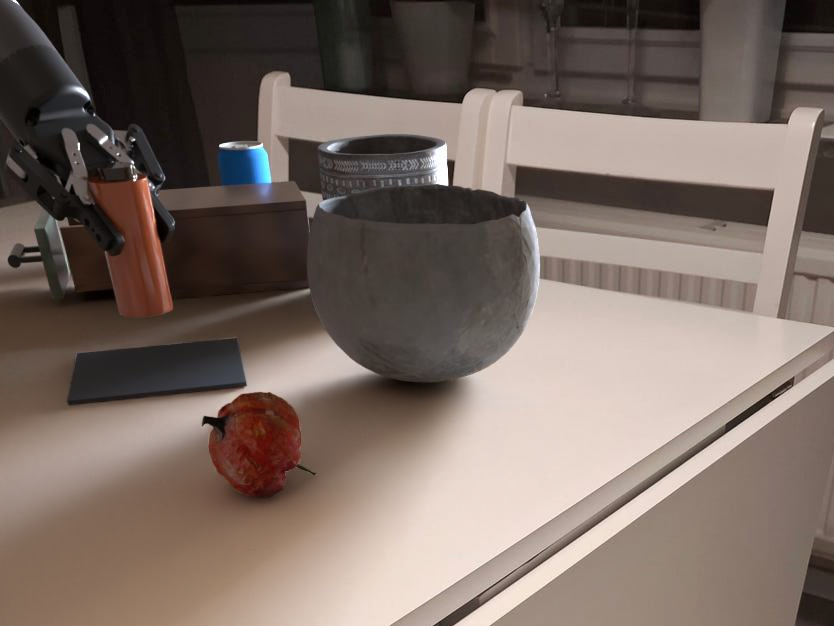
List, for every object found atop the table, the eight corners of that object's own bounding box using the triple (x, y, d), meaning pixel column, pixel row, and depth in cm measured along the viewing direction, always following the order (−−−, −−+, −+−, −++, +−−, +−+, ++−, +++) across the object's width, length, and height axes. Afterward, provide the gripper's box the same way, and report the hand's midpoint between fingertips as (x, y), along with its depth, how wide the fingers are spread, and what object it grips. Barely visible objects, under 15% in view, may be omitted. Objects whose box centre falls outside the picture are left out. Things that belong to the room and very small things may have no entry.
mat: (68, 405, 91) (66, 400, 90) (77, 356, 101) (76, 352, 101) (247, 386, 93) (246, 381, 93) (237, 341, 104) (237, 337, 104)
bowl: (495, 425, 85) (493, 231, 75) (281, 399, 90) (255, 216, 81) (564, 350, 100) (569, 181, 90) (377, 332, 105) (364, 171, 96)
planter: (354, 311, 112) (339, 159, 103) (317, 281, 122) (301, 140, 113) (470, 294, 116) (467, 147, 107) (425, 266, 126) (418, 130, 117)
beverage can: (275, 237, 141) (261, 139, 134) (282, 247, 136) (269, 146, 129) (228, 241, 140) (212, 142, 132) (235, 251, 135) (218, 150, 127)
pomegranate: (282, 488, 81) (167, 434, 75) (330, 412, 78) (215, 349, 72) (304, 536, 76) (184, 483, 70) (356, 457, 73) (236, 394, 67)
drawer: (15, 302, 114) (-6, 231, 109) (25, 277, 123) (6, 210, 118) (191, 287, 118) (178, 218, 113) (189, 263, 126) (177, 198, 122)
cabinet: (172, 299, 117) (155, 211, 112) (171, 272, 127) (155, 190, 121) (316, 286, 120) (306, 200, 115) (304, 261, 130) (294, 180, 124)
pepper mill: (118, 320, 92) (83, 172, 84) (119, 305, 96) (86, 162, 88) (174, 314, 93) (144, 168, 85) (173, 300, 96) (144, 158, 89)
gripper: (-45, 49, 80) (89, 230, 82) (101, 34, 89) (219, 198, 91) (-59, 121, 86) (67, 289, 88) (80, 101, 95) (192, 253, 97)
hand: (144, 242), depth 90 cm, fingers closed on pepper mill, 5 cm apart
